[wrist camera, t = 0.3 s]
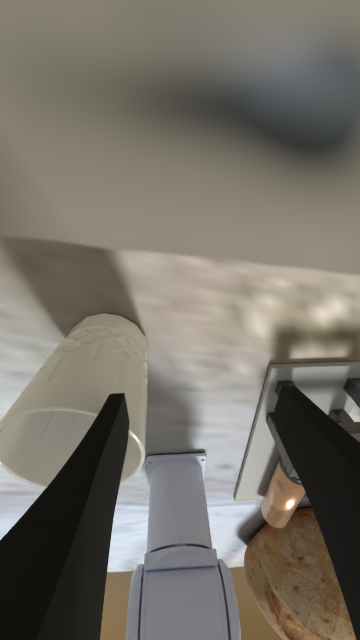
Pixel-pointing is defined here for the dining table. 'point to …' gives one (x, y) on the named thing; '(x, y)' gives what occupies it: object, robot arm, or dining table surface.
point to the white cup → (77, 399)
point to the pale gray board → (262, 453)
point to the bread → (297, 581)
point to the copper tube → (281, 497)
